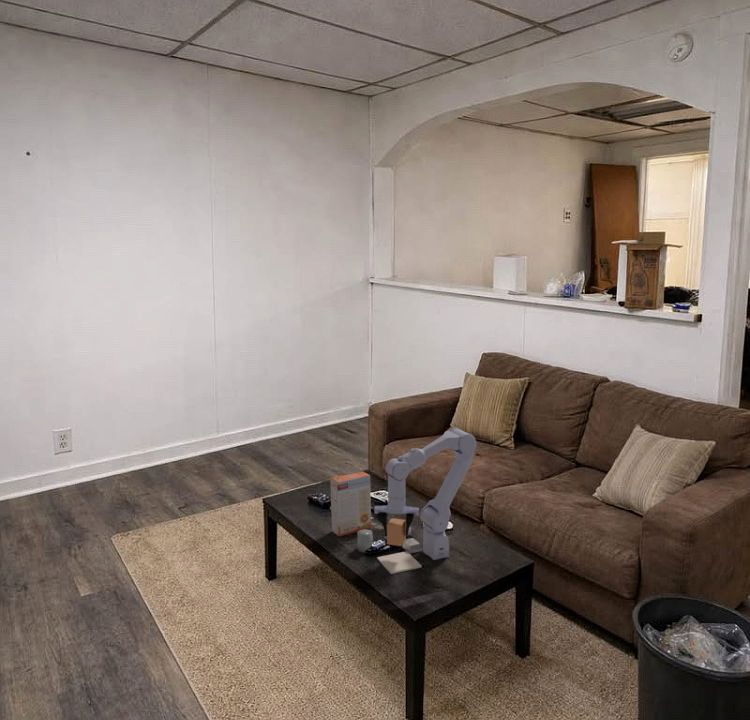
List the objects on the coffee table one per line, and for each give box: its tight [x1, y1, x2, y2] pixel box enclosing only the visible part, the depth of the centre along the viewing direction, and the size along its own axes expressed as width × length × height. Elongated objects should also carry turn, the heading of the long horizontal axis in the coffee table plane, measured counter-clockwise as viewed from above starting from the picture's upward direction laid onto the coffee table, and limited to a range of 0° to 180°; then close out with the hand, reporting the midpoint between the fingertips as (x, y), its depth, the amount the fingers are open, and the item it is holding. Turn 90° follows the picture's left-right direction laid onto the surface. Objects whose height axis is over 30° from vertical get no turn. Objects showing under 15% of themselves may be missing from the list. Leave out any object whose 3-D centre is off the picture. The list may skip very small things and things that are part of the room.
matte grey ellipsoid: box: [408, 526, 412, 536], centre depth 228 cm, size 6×6×2 cm
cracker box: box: [330, 471, 372, 538], centre depth 230 cm, size 14×6×21 cm, turn 122°
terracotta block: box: [386, 517, 407, 547], centre depth 208 cm, size 5×5×7 cm
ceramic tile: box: [376, 550, 423, 575], centre depth 207 cm, size 11×11×1 cm
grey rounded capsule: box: [356, 529, 373, 553], centre depth 217 cm, size 5×5×6 cm
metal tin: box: [402, 537, 421, 555], centre depth 216 cm, size 5×4×3 cm
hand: (396, 534), depth 208 cm, fingers open, 6 cm apart
